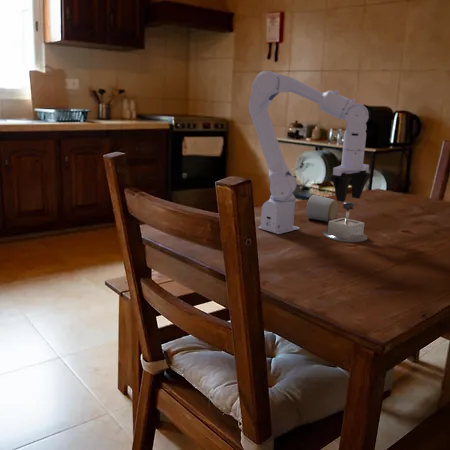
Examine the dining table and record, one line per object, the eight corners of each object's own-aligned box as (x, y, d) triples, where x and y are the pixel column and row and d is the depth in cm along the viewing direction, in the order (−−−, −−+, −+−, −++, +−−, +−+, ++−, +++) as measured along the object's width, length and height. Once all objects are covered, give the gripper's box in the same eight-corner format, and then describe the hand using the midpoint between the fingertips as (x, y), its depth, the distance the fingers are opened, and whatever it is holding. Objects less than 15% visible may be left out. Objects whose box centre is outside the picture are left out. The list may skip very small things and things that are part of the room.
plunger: (348, 228, 138) (351, 205, 137) (334, 224, 141) (336, 202, 140) (358, 225, 141) (360, 203, 140) (343, 222, 145) (346, 200, 143)
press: (351, 245, 134) (353, 229, 133) (314, 234, 142) (316, 220, 141) (375, 237, 142) (377, 223, 141) (339, 228, 150) (340, 214, 149)
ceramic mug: (329, 224, 155) (331, 199, 153) (304, 220, 159) (306, 195, 157) (341, 219, 163) (344, 195, 162) (317, 214, 168) (320, 191, 166)
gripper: (351, 152, 129) (346, 205, 132) (380, 150, 139) (375, 198, 142) (328, 149, 134) (323, 200, 137) (358, 147, 144) (353, 194, 147)
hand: (348, 199), depth 140 cm, fingers open, 7 cm apart
